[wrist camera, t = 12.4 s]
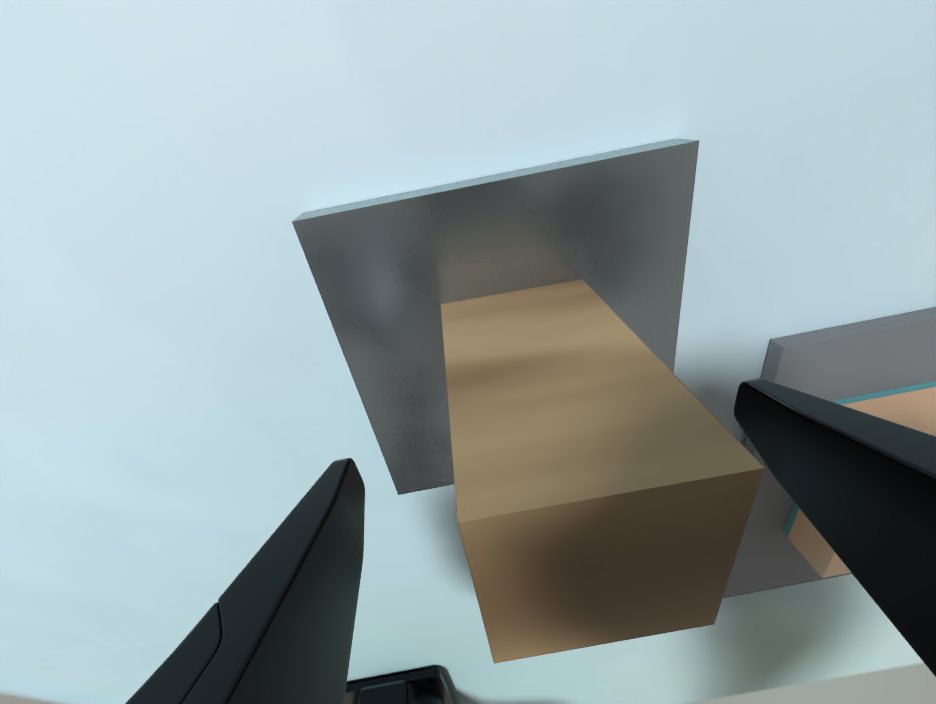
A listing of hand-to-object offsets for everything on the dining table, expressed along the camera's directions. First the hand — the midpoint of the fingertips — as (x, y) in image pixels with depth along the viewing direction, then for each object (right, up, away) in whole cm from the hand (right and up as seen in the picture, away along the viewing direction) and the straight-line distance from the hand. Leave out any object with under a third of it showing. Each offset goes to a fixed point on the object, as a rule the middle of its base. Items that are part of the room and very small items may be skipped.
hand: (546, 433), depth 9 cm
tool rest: (0, +2, +4) cm, 4 cm away
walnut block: (0, +2, +3) cm, 4 cm away
